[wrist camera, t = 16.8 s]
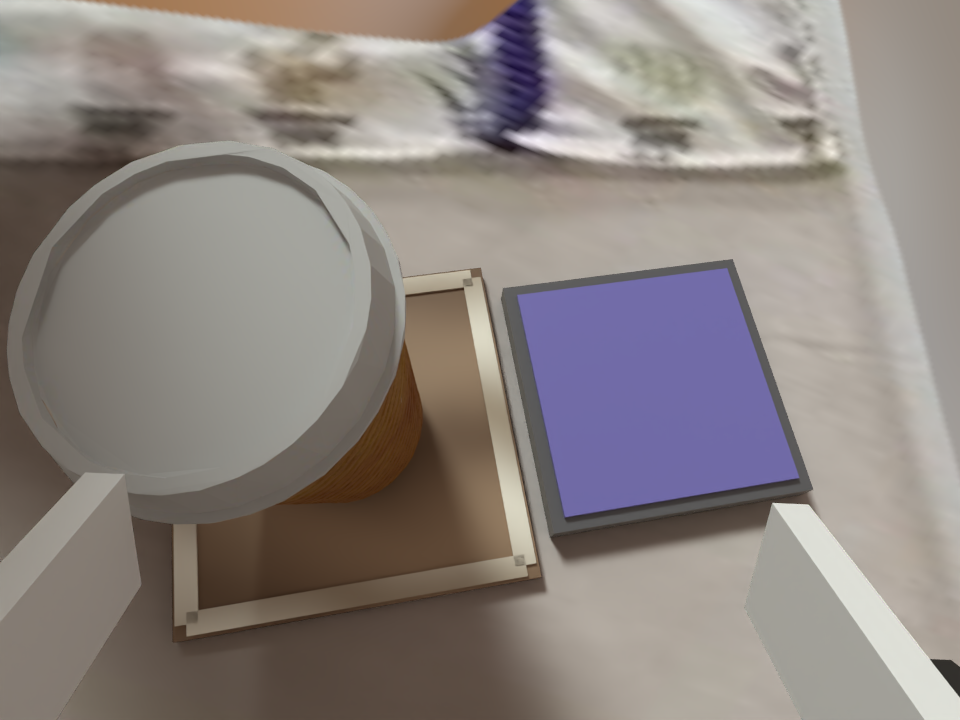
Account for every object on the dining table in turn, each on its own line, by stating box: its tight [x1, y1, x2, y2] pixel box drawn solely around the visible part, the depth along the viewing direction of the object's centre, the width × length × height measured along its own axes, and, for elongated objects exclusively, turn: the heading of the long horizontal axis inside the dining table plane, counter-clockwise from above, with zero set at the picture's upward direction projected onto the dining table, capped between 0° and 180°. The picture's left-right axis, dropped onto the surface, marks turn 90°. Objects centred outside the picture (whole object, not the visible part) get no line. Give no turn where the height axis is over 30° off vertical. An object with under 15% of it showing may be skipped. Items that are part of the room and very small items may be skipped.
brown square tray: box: [172, 268, 541, 642], centre depth 28 cm, size 13×13×1 cm
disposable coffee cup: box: [7, 141, 423, 524], centre depth 21 cm, size 10×10×12 cm
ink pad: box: [501, 259, 813, 537], centre depth 29 cm, size 10×10×1 cm
